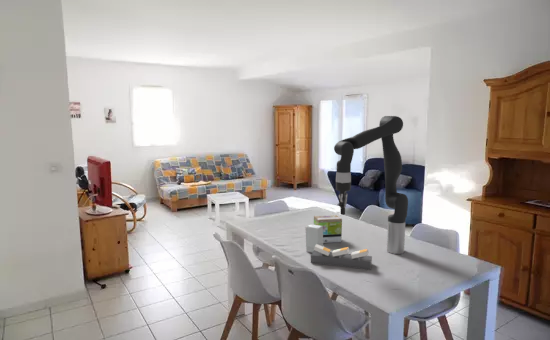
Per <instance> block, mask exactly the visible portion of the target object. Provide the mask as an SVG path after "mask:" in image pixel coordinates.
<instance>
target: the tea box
mask: <svg viewBox="0 0 550 340" xmlns="http://www.w3.org/2000/svg"><path fill="white" fill-rule="evenodd" d="M313 225H320V226H323V244H324V243H326V244H328V243H329V244H330V243H342V235H343V233H342V232H343V228H342V227H343V219H342V218H341V217H340V216H339V215H337V214H335V215H331V214H330V215H314V216H313Z"/></svg>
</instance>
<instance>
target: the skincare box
mask: <svg viewBox="0 0 550 340" xmlns="http://www.w3.org/2000/svg"><path fill="white" fill-rule="evenodd" d="M304 228H305V244H306V245H305V247H306V248H305V249H306V250H305V252H307V253H311V254H312V253H313V251H314V247H315V245H316V244H318V245H320V246H323V247H324V243H323V226H320V225H314V224H308V225H306V226H305V227H304Z"/></svg>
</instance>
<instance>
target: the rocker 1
mask: <svg viewBox="0 0 550 340" xmlns="http://www.w3.org/2000/svg"><path fill="white" fill-rule="evenodd" d="M314 250H315V251H318V252H320V253H322V254H325V255H327V256H328V255H329V254H330V252H332V249H330V248H327V247H325V246H324V245H323V246H320V245H318V244H316V245H315V247H314Z"/></svg>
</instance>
